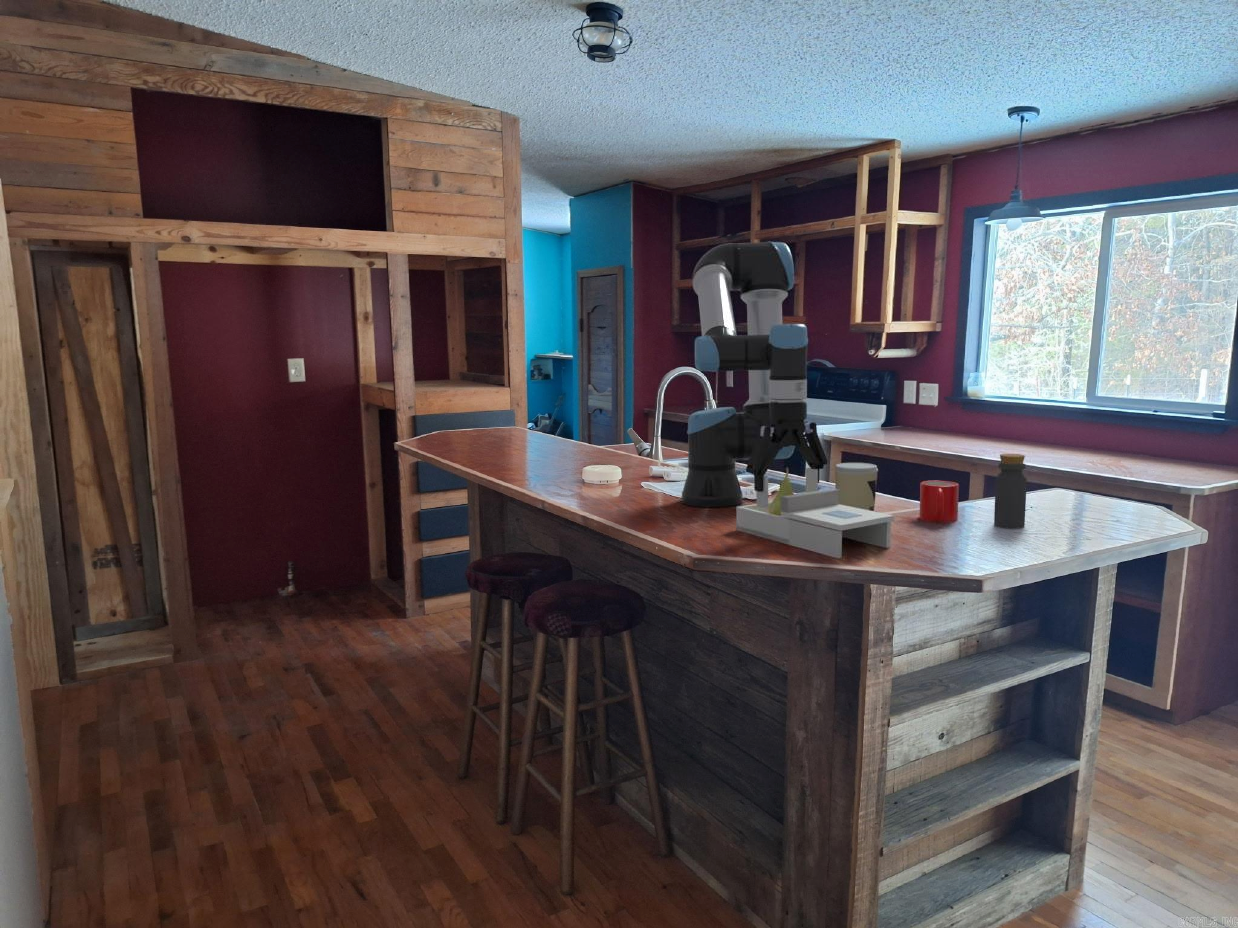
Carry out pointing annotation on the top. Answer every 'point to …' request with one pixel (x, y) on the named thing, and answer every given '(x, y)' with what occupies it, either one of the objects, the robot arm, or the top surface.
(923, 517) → the mug
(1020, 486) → the bottle
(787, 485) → the fruit
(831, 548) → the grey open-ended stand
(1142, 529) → the top surface
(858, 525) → the lid
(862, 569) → the top surface
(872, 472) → the coffee cup
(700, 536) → the top surface
